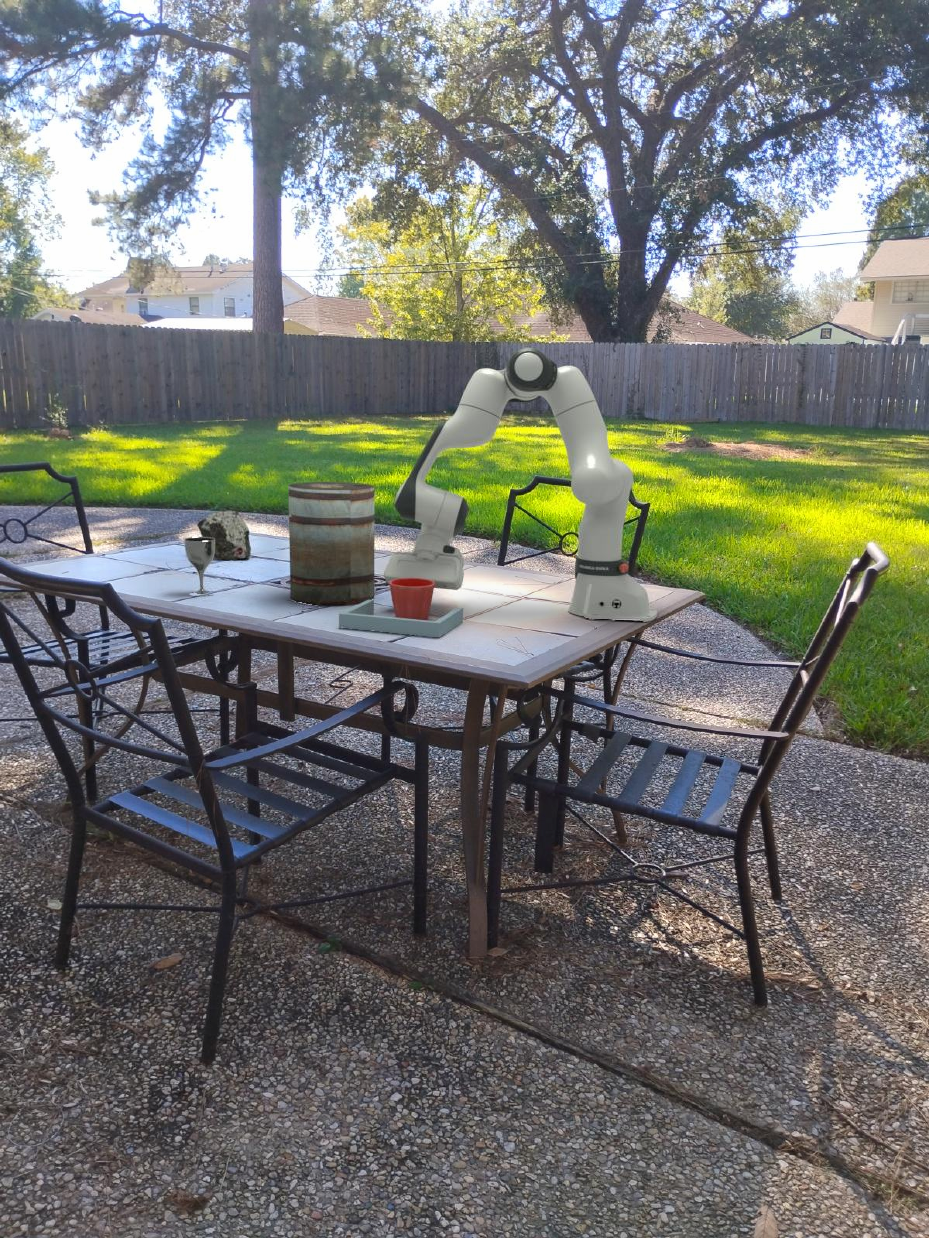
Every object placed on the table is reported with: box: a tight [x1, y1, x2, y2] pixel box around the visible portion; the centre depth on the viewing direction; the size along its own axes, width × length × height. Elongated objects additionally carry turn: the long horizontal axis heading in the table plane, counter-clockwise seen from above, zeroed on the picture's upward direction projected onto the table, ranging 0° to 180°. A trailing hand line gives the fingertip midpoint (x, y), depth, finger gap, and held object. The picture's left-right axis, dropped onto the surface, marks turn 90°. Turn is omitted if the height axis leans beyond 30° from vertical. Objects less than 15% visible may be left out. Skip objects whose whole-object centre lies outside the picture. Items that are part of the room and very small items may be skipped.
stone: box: [197, 510, 252, 562], centre depth 327 cm, size 19×18×15 cm
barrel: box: [288, 481, 375, 607], centre depth 266 cm, size 22×22×30 cm
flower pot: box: [389, 578, 435, 621], centre depth 243 cm, size 11×11×10 cm
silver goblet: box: [184, 536, 215, 594], centre depth 268 cm, size 8×8×15 cm
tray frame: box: [338, 599, 464, 638], centre depth 239 cm, size 25×18×4 cm
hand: (416, 599), depth 248 cm, fingers closed
